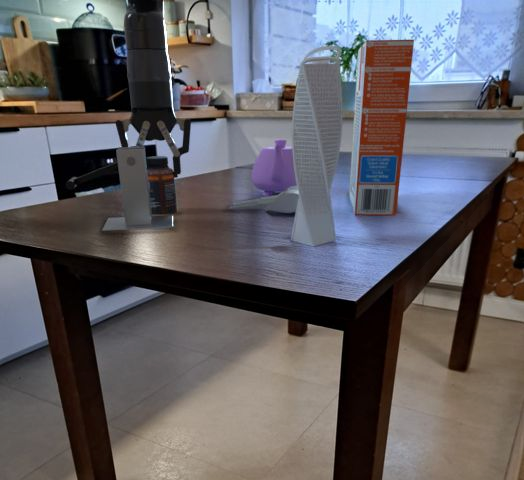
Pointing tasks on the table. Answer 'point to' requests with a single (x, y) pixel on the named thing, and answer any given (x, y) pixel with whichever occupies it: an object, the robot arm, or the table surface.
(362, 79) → the orange cereal box
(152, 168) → the supplement bottle
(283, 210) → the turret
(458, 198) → the table surface
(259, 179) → the teapot
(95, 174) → the lever
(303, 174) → the skyscraper
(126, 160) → the upright plaque on base
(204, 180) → the table surface
